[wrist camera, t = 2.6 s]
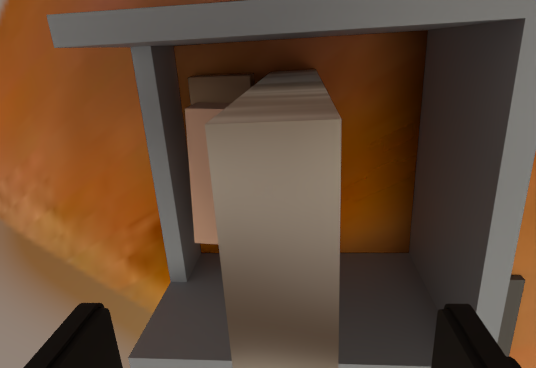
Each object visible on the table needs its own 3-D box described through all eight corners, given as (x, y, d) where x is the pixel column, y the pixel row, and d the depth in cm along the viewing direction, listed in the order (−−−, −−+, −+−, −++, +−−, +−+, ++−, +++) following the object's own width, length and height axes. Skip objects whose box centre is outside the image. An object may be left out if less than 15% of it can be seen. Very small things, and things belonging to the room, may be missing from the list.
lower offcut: (198, 74, 26) (187, 77, 24) (254, 73, 26) (249, 75, 23) (213, 228, 30) (205, 243, 28) (262, 228, 30) (258, 244, 27)
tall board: (270, 71, 25) (204, 124, 8) (315, 69, 25) (341, 119, 8) (279, 230, 29) (245, 481, 12) (317, 230, 29) (336, 487, 12)
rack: (153, 27, 25) (46, 14, 14) (449, 7, 23) (570, -24, 12) (188, 265, 31) (132, 374, 21) (423, 266, 29) (488, 386, 19)
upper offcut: (196, 102, 24) (184, 108, 22) (251, 103, 24) (245, 109, 22) (204, 226, 27) (194, 243, 25) (252, 228, 27) (247, 245, 25)
